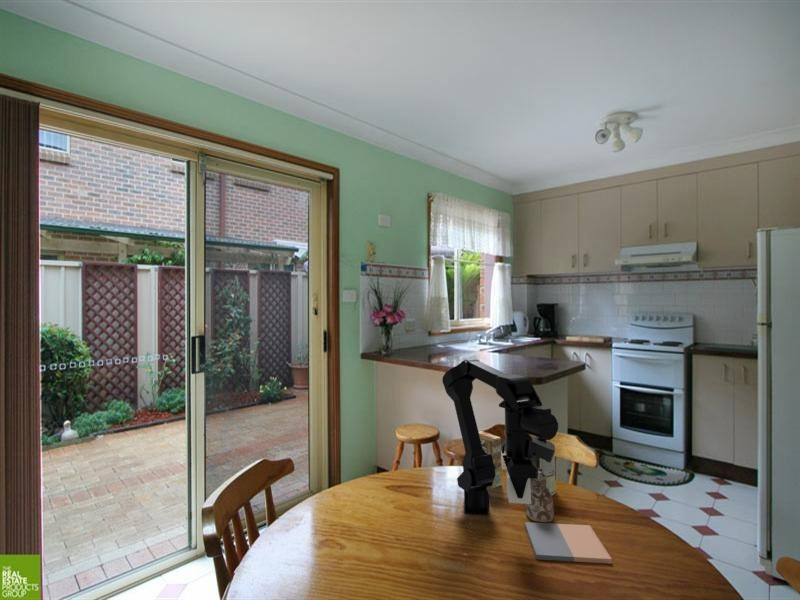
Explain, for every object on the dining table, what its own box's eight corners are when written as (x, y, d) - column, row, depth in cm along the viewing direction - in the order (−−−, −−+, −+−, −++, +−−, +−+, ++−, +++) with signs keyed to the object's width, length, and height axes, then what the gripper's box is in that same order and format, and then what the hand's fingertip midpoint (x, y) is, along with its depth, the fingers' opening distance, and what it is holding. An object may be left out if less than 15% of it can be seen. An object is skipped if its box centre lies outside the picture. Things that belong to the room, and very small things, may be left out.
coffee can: (522, 495, 122) (521, 448, 122) (519, 481, 132) (518, 437, 132) (558, 498, 120) (557, 450, 120) (552, 484, 130) (552, 439, 130)
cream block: (509, 502, 97) (508, 477, 97) (506, 493, 102) (506, 469, 102) (530, 504, 96) (530, 478, 97) (527, 494, 101) (526, 470, 101)
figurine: (522, 517, 109) (521, 472, 110) (530, 506, 115) (529, 463, 116) (549, 525, 105) (549, 478, 106) (556, 513, 111) (555, 469, 111)
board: (536, 559, 91) (536, 554, 91) (524, 526, 105) (524, 522, 105) (611, 563, 89) (611, 559, 89) (589, 529, 103) (589, 525, 103)
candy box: (502, 485, 129) (501, 437, 129) (493, 489, 127) (492, 439, 127) (482, 476, 136) (481, 430, 137) (473, 479, 134) (472, 432, 134)
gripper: (561, 441, 89) (562, 513, 89) (543, 419, 108) (544, 478, 107) (509, 440, 91) (510, 511, 90) (500, 418, 109) (501, 477, 109)
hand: (518, 493), depth 99 cm, fingers closed on cream block, 5 cm apart
